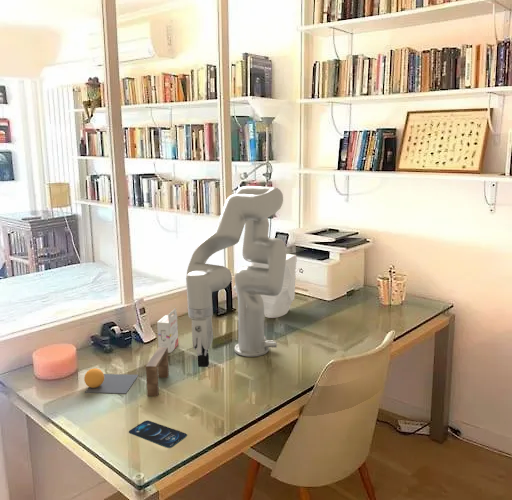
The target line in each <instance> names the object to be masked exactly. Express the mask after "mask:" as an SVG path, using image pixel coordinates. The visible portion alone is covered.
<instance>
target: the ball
mask: <svg viewBox="0 0 512 500" xmlns="http://www.w3.org/2000/svg"><path fill="white" fill-rule="evenodd" d="M104 374H105V373H104V372H103V371H102V370H101V369H100V368H97V367H96V368H95V367H93V368H91V369H89V370H88V371H86V373H85V374H84V378H83V379H84V380H83V381H84V383H85V385H86V386H87V387H91V388H96V387H99V386H100V385H101V384H102V383H103V381H104Z"/></svg>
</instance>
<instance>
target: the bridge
mask: <svg viewBox="0 0 512 500" xmlns="http://www.w3.org/2000/svg"><path fill="white" fill-rule="evenodd" d="M169 370H170V369H169V353H168V347H159V346H158V347H157V349H156V350H155V352H154V353H153V355H152V356H151V358H150V359H149V361H148V362H147V364H146V365H145V371H146V372H145V376H146V393H147V395H146V396H147V397H158V395H159V393H160V391H159V390H160V388H159V387H160V386H159V378H167V379H168V377H169V375H170V373H169V372H170V371H169Z"/></svg>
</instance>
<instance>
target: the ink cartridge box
mask: <svg viewBox="0 0 512 500" xmlns="http://www.w3.org/2000/svg"><path fill="white" fill-rule="evenodd" d="M156 326H157V342H158V347H168V354H171V353H172V352H173V351H174V350H175V349H176V347H178V346H179V332H178V330H179V328H178V327H179V326H178V313H177V308H175V307H174V309H173V310H171V311H170V312H169V313H168V314H165V315H164V316H162V317H161V318H160V319H159V320H158V321H157V322H156Z"/></svg>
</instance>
